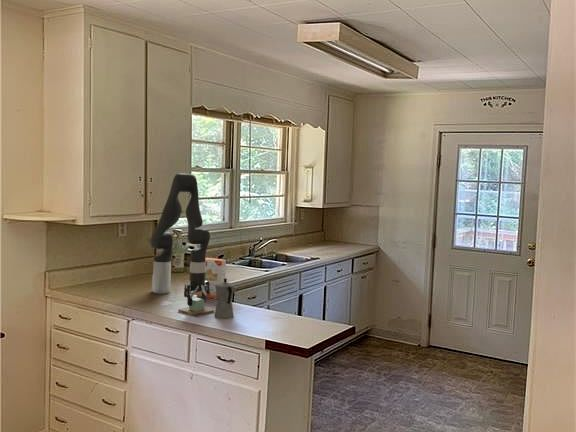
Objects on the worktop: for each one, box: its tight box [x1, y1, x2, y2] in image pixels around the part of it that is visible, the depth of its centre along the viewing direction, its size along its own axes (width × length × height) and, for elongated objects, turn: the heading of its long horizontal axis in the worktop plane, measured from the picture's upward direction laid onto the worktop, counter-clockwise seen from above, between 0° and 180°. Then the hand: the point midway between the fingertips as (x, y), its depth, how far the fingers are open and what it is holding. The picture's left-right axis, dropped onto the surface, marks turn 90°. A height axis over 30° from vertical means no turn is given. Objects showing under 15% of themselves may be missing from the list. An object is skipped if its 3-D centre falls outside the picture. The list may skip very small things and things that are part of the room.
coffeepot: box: [214, 277, 236, 319], centre depth 267 cm, size 15×9×18 cm, turn 24°
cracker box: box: [196, 257, 227, 300], centre depth 306 cm, size 14×6×21 cm, turn 73°
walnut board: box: [178, 306, 215, 318], centre depth 274 cm, size 12×12×1 cm
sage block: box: [188, 297, 205, 311], centre depth 274 cm, size 5×5×5 cm
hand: (196, 304), depth 274 cm, fingers open, 8 cm apart
